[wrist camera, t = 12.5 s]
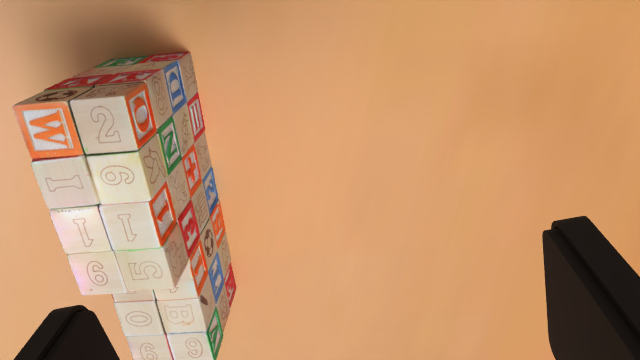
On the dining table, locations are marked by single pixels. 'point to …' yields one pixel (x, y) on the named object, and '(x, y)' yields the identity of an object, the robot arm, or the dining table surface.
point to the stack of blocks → (137, 199)
